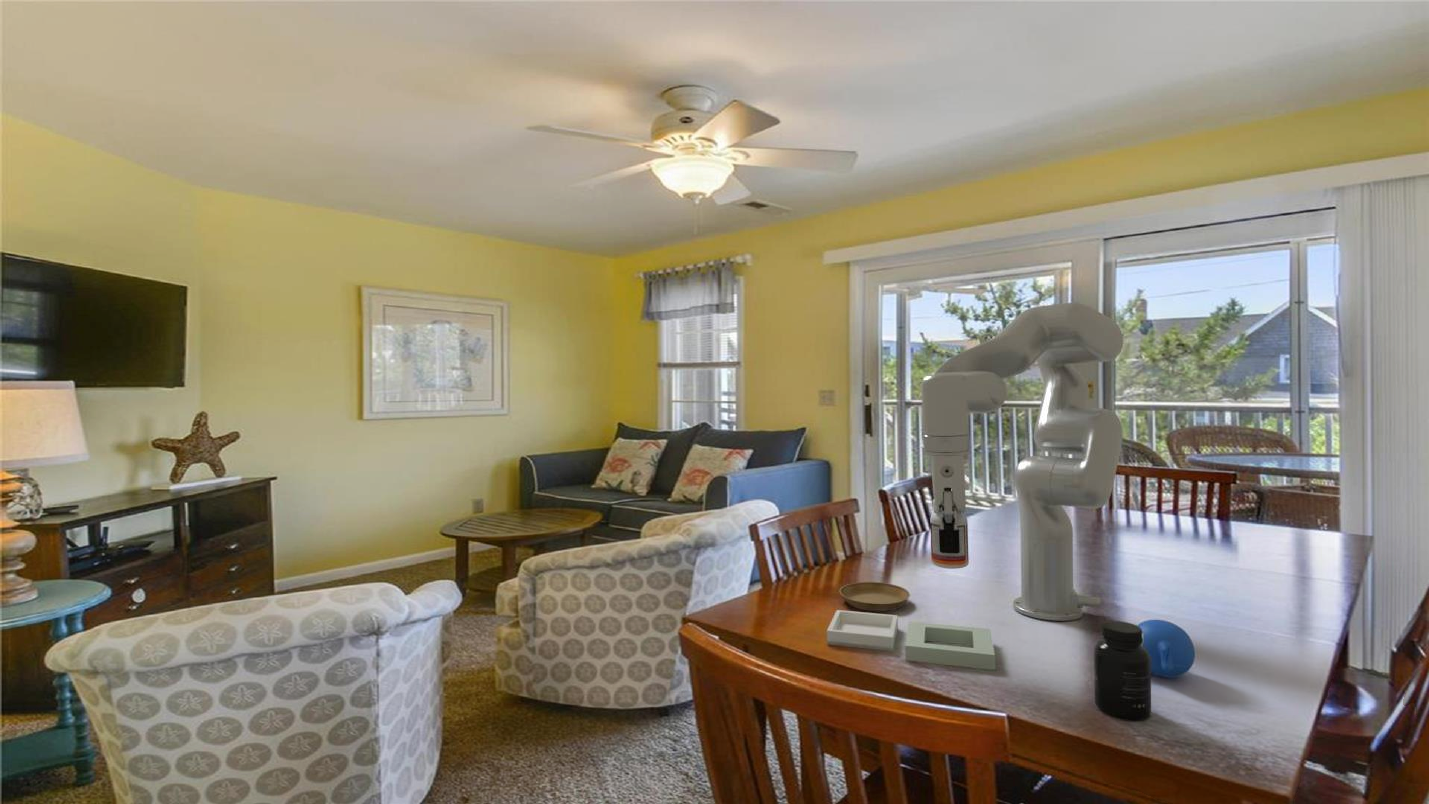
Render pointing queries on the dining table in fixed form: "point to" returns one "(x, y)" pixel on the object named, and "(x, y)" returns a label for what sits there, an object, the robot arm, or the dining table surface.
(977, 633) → the socket holder
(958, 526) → the pill bottle
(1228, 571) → the dining table surface
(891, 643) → the tray
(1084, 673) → the dining table surface
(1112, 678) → the supplement bottle
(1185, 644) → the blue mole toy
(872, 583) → the plant saucer
